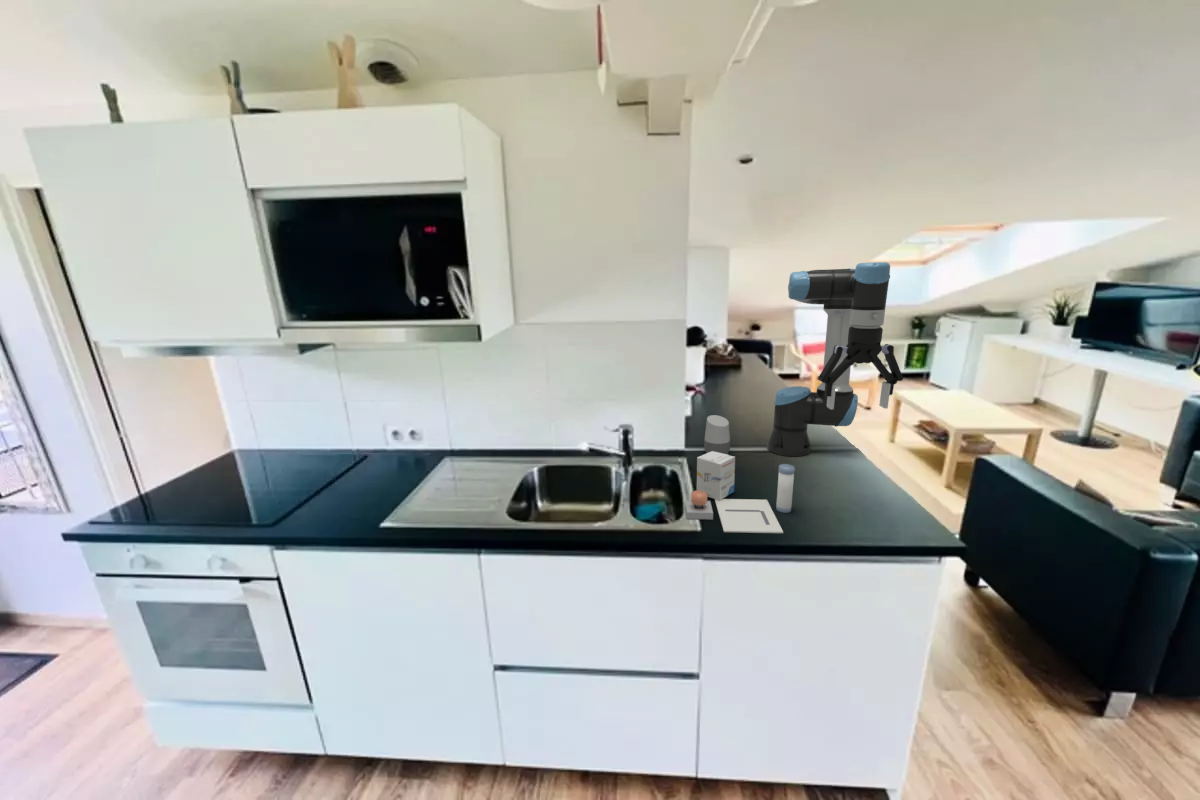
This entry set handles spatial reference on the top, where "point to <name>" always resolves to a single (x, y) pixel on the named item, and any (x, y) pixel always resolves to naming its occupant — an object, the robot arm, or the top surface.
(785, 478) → the marker
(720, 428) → the smart speaker
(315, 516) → the top surface
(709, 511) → the button box
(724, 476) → the ink box
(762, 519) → the white flat board
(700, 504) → the button
